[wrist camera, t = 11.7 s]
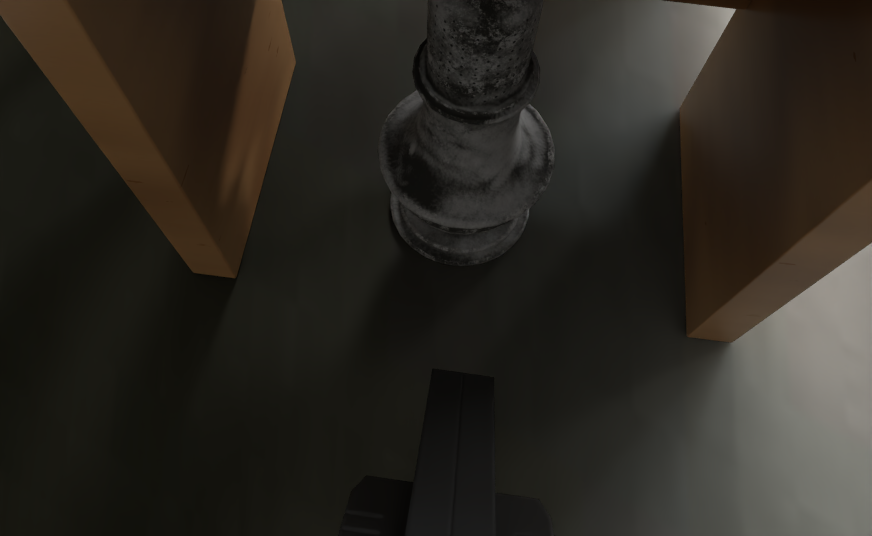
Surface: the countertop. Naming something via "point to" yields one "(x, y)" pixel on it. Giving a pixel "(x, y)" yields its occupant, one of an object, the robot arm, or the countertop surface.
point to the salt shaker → (469, 133)
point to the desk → (699, 132)
